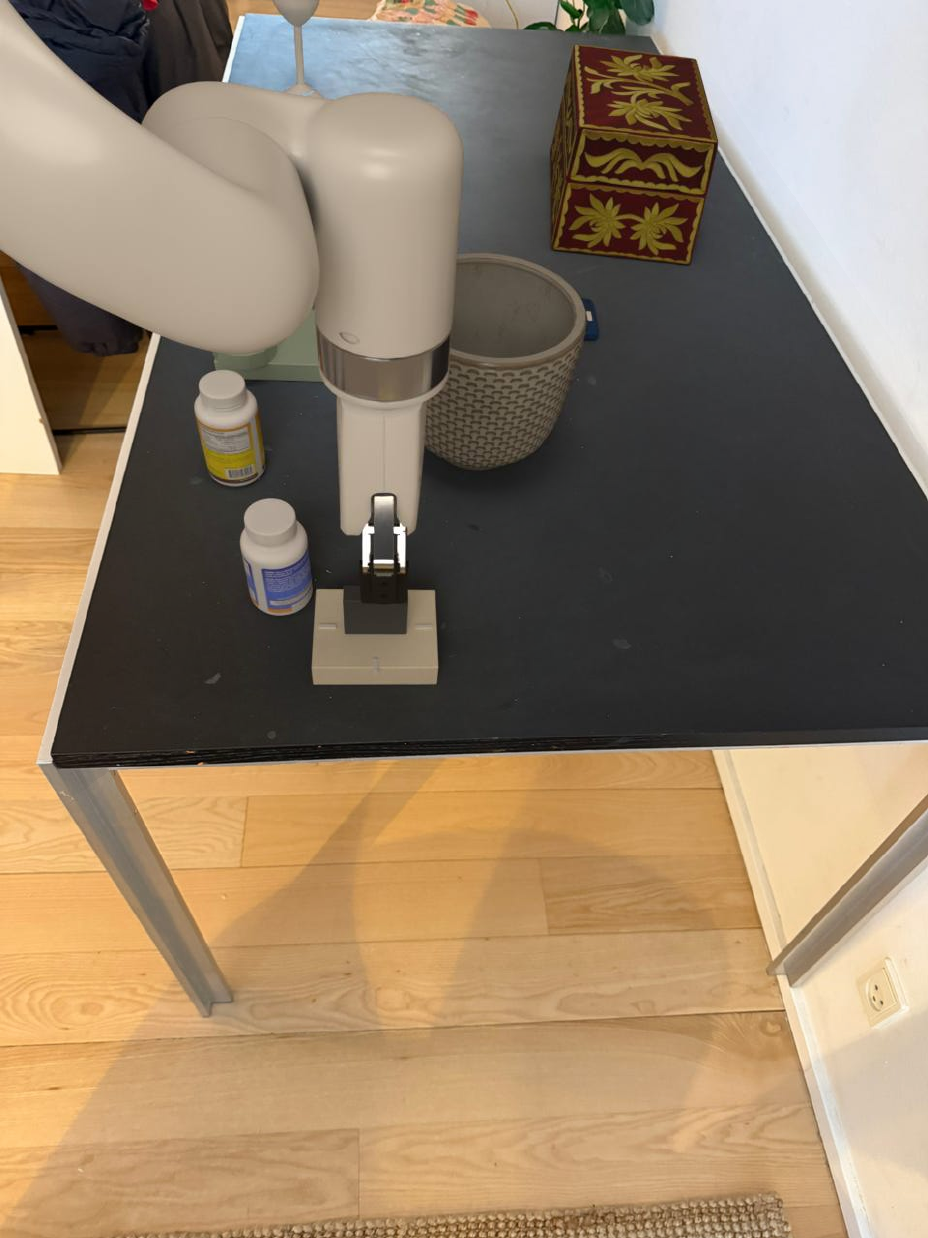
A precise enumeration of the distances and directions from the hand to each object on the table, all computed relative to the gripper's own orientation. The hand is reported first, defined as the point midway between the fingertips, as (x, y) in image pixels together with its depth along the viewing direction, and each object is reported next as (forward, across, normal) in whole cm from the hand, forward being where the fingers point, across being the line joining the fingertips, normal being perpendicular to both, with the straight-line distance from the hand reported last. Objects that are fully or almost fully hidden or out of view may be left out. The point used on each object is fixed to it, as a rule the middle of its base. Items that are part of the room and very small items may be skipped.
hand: (384, 547), depth 62 cm
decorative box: (+13, -76, +32) cm, 83 cm away
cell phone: (+13, -48, +18) cm, 53 cm away
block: (+13, -40, -12) cm, 43 cm away
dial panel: (+13, 0, -1) cm, 13 cm away
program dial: (+10, 0, -1) cm, 10 cm away
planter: (+13, -26, +9) cm, 30 cm away
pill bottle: (+13, -6, -9) cm, 17 cm away
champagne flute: (+13, -104, -13) cm, 105 cm away
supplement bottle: (+13, -21, -14) cm, 29 cm away
